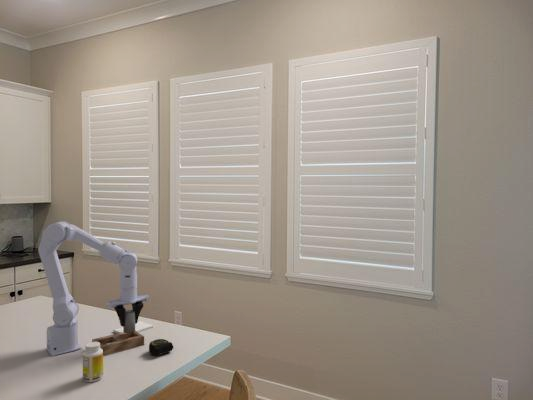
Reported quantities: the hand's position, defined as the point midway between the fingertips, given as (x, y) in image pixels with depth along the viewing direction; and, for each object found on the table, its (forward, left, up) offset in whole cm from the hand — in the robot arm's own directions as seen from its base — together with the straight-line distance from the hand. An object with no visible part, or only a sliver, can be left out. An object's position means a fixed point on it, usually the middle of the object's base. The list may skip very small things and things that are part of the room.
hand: (128, 324), depth 144 cm
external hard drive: (+7, +13, -8) cm, 16 cm away
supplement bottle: (-18, -18, -7) cm, 27 cm away
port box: (-4, 0, -7) cm, 8 cm away
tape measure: (+5, -15, -8) cm, 17 cm away
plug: (0, 0, -2) cm, 2 cm away
